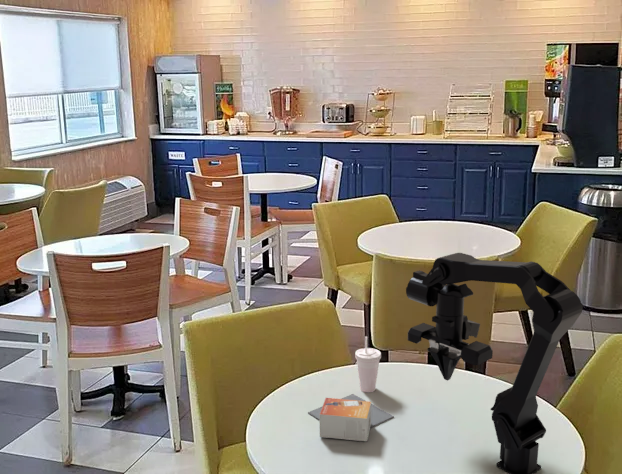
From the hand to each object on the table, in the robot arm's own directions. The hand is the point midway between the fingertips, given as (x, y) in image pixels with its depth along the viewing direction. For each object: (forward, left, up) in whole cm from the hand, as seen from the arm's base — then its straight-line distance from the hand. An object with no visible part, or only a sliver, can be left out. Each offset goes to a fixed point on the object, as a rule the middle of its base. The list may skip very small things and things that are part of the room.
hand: (447, 379), depth 151 cm
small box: (+9, +14, -9) cm, 19 cm away
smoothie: (+25, 0, -12) cm, 28 cm away
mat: (+18, +12, -12) cm, 25 cm away
